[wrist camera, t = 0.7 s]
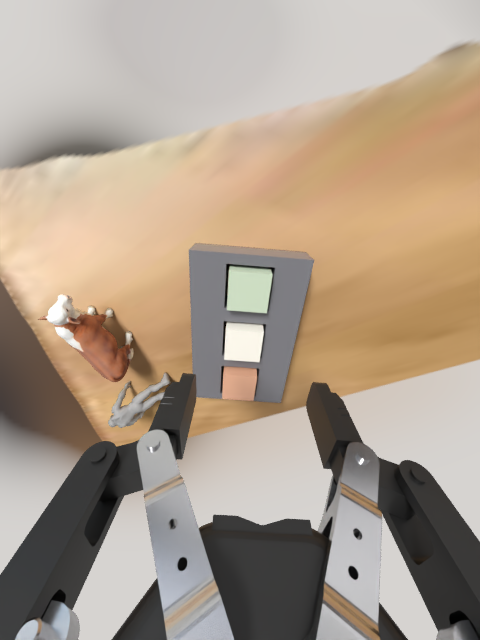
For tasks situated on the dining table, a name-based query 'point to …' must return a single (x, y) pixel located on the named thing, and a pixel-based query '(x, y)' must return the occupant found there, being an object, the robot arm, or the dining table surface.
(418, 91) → the dining table surface
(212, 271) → the button panel
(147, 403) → the grey human figurine
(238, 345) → the cream button
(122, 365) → the bull figurine
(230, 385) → the terracotta button
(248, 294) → the sage button
